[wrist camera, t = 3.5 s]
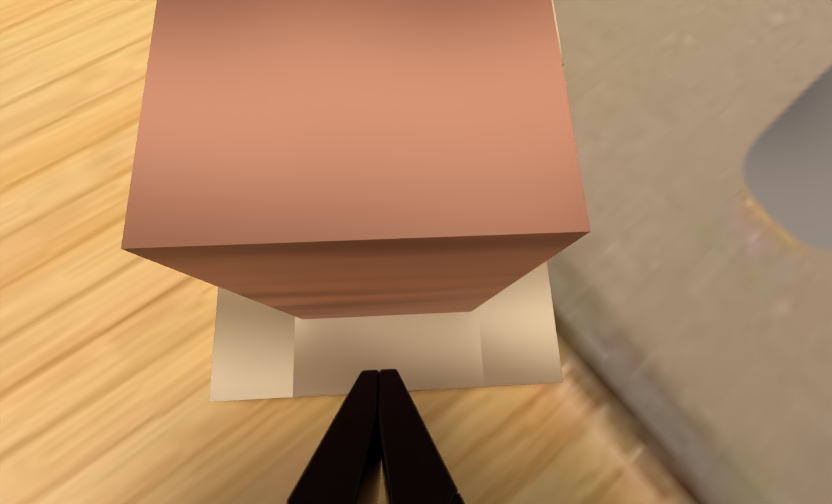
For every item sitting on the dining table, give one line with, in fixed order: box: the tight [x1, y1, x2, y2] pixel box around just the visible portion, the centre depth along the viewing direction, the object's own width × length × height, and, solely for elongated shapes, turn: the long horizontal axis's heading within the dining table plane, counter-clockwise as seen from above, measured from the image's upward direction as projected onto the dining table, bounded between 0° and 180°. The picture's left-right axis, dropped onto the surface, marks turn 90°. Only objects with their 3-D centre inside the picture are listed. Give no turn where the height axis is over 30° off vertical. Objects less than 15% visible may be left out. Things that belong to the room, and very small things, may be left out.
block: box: [121, 0, 590, 319], centre depth 12 cm, size 8×7×11 cm
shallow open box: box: [209, 0, 564, 402], centre depth 19 cm, size 25×16×4 cm, turn 3°
